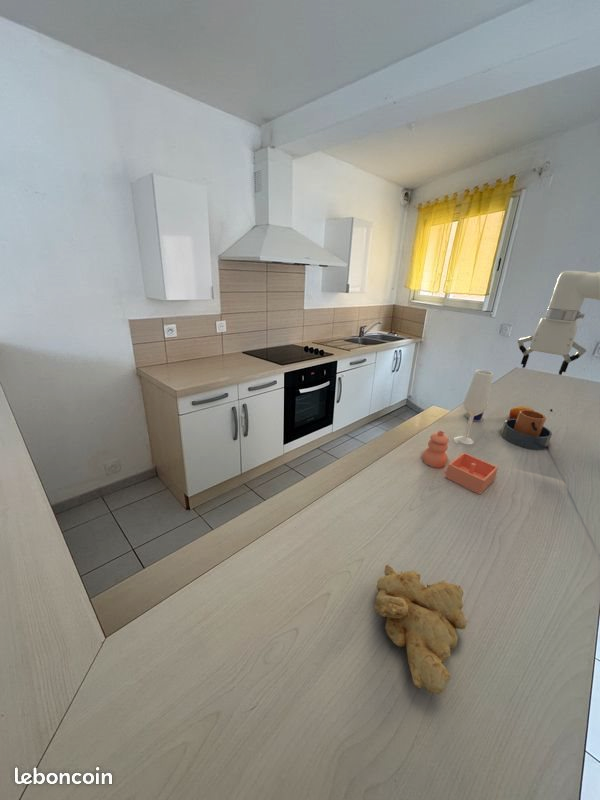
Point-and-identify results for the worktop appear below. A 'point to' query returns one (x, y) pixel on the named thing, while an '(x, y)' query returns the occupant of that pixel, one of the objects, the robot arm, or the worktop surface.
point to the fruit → (517, 411)
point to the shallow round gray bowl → (525, 437)
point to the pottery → (459, 465)
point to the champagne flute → (476, 400)
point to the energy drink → (475, 417)
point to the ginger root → (421, 623)
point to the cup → (529, 422)
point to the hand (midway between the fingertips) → (541, 370)
